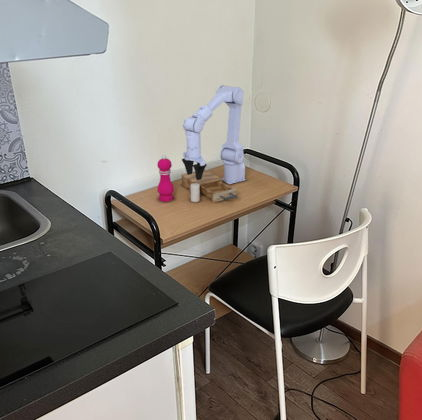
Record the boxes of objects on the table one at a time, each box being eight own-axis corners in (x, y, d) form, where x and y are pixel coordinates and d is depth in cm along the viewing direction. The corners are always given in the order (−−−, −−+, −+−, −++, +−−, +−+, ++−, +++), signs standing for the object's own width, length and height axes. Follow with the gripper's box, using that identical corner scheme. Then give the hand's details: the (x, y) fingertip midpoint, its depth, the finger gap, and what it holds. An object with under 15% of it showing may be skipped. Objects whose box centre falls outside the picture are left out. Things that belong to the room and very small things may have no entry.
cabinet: (221, 189, 201) (222, 178, 199) (198, 195, 196) (198, 184, 194) (204, 179, 213) (204, 169, 211) (181, 184, 208) (181, 174, 206)
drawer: (242, 199, 187) (242, 192, 186) (219, 206, 183) (220, 198, 181) (218, 186, 202) (218, 179, 201) (197, 191, 197) (197, 184, 196)
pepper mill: (161, 203, 190) (159, 159, 181) (155, 197, 196) (152, 154, 187) (177, 200, 192) (175, 156, 184) (170, 194, 198) (168, 151, 190)
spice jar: (196, 197, 194) (196, 182, 191) (201, 200, 191) (201, 185, 188) (188, 199, 192) (188, 184, 189) (193, 202, 189) (193, 187, 186)
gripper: (176, 143, 188) (177, 173, 194) (194, 152, 176) (195, 184, 182) (191, 140, 191) (191, 170, 197) (209, 149, 179) (209, 180, 185)
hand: (194, 176), depth 190 cm, fingers open, 7 cm apart
